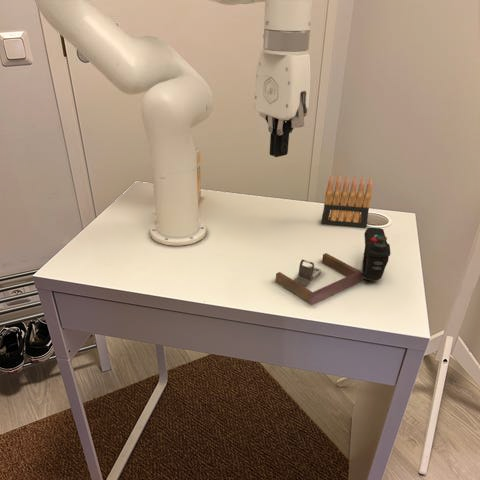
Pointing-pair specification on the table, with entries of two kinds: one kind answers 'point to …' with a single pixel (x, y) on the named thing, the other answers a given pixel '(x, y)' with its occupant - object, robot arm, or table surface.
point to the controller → (375, 254)
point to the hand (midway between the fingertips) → (278, 154)
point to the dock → (327, 291)
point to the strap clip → (307, 273)
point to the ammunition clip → (347, 204)
